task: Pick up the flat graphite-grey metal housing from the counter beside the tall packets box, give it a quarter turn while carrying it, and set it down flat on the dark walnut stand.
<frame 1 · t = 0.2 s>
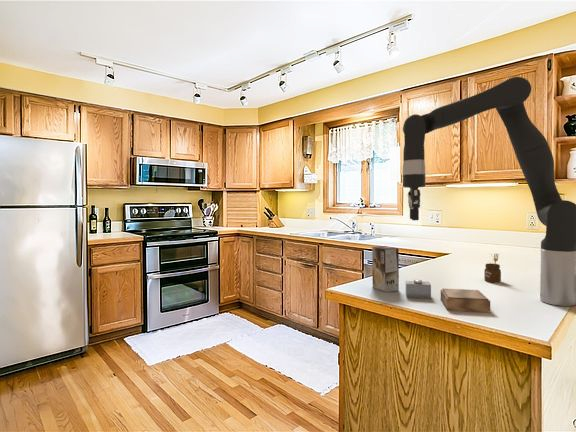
hand: (414, 219, 125), 27 cm above the counter, tool pointing down, fingers open, 8 cm apart
walnut stand: (463, 305, 113), on the counter
coffee box: (385, 289, 137), on the counter
utensil holder: (492, 281, 146), on the counter
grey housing: (417, 296, 125), on the counter
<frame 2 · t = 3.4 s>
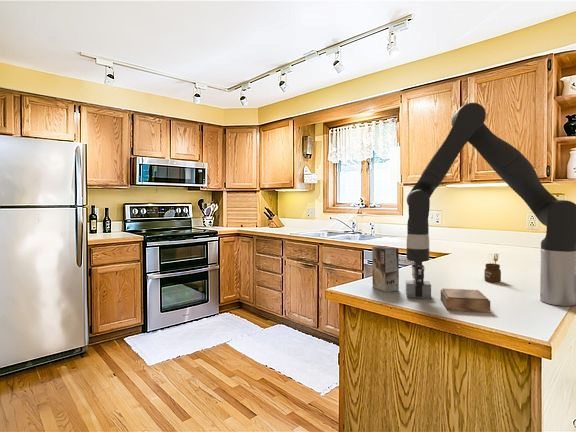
hand: (417, 294, 125), 1 cm above the counter, tool pointing down, fingers closed on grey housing, 5 cm apart
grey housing: (418, 296, 125), on the counter, touching gripper
everything else where it was.
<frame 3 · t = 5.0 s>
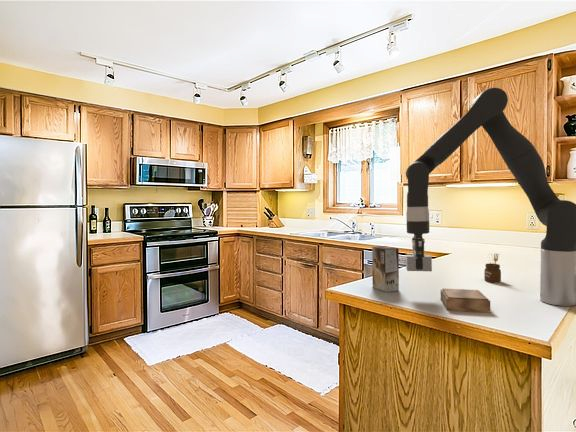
hand: (418, 267, 125), 10 cm above the counter, tool pointing down, fingers closed on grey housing, 5 cm apart
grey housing: (418, 269, 125), point 9 cm above the counter, touching gripper
everything else where it was.
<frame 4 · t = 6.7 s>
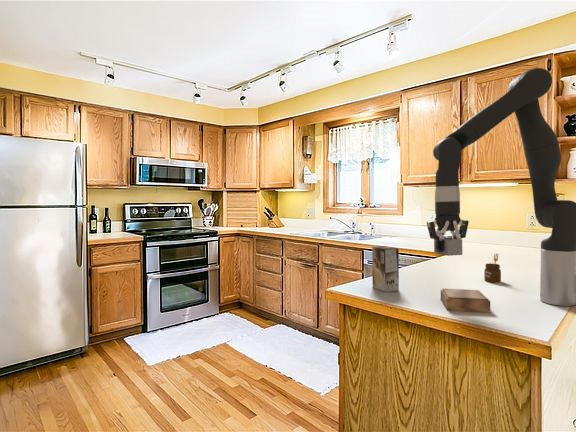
hand: (448, 251, 117), 17 cm above the counter, tool pointing down, fingers closed on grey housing, 5 cm apart
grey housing: (447, 253, 117), point 16 cm above the counter, touching gripper
everything else where it was.
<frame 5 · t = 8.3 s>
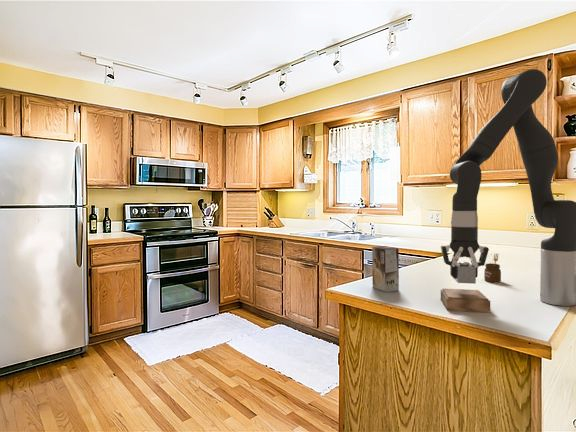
hand: (463, 278, 113), 9 cm above the counter, tool pointing down, fingers closed on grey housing, 5 cm apart
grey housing: (463, 280, 113), point 8 cm above the counter, touching gripper
everything else where it was.
when the fingers open (6 cm above the counter, at t = 9.8 s): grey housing drops 1 cm, resting on walnut stand.
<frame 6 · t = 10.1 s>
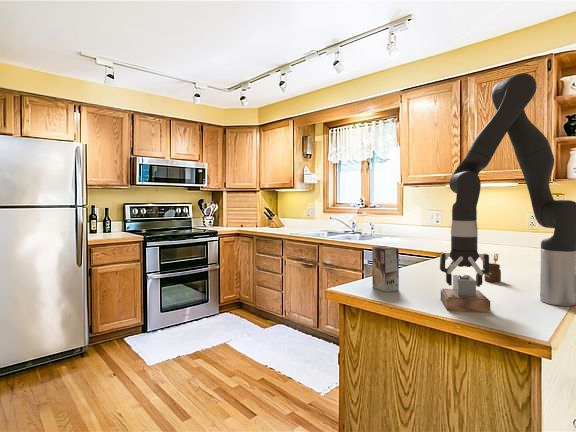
hand: (463, 285, 113), 7 cm above the counter, tool pointing down, fingers open, 8 cm apart
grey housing: (464, 293, 113), point 4 cm above the counter, touching walnut stand
everything else where it was.
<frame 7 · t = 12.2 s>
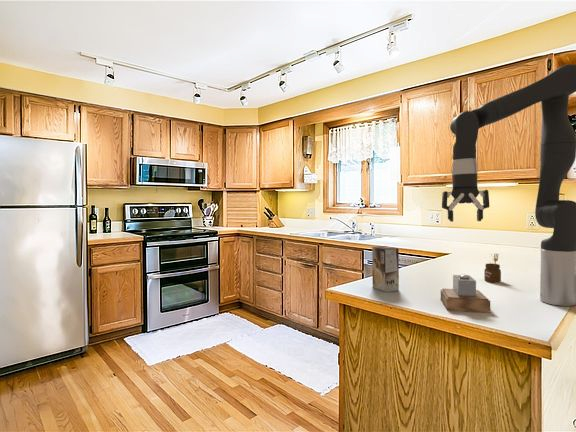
hand: (465, 221, 120), 27 cm above the counter, tool pointing down, fingers open, 8 cm apart
nothing on the counter moved.
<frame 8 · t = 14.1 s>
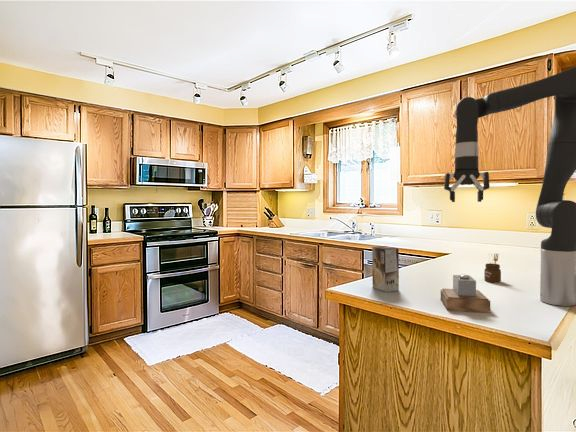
hand: (466, 201, 126), 33 cm above the counter, tool pointing down, fingers open, 8 cm apart
nothing on the counter moved.
at the end: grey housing inside the target area on the walnut stand (0.0 cm from its centre), point 4.0 cm above the walnut stand's base; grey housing tilted 0°; the gripper is holding nothing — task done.
